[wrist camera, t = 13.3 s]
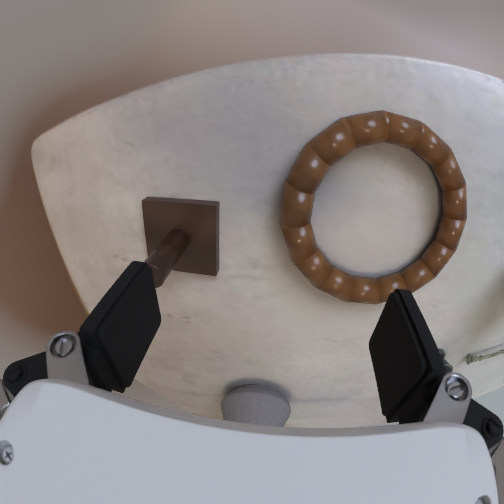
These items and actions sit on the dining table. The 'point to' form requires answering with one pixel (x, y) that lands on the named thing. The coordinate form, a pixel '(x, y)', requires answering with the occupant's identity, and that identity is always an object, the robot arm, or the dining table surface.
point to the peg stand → (181, 236)
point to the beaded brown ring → (314, 170)
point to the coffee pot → (256, 406)
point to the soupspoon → (481, 357)
